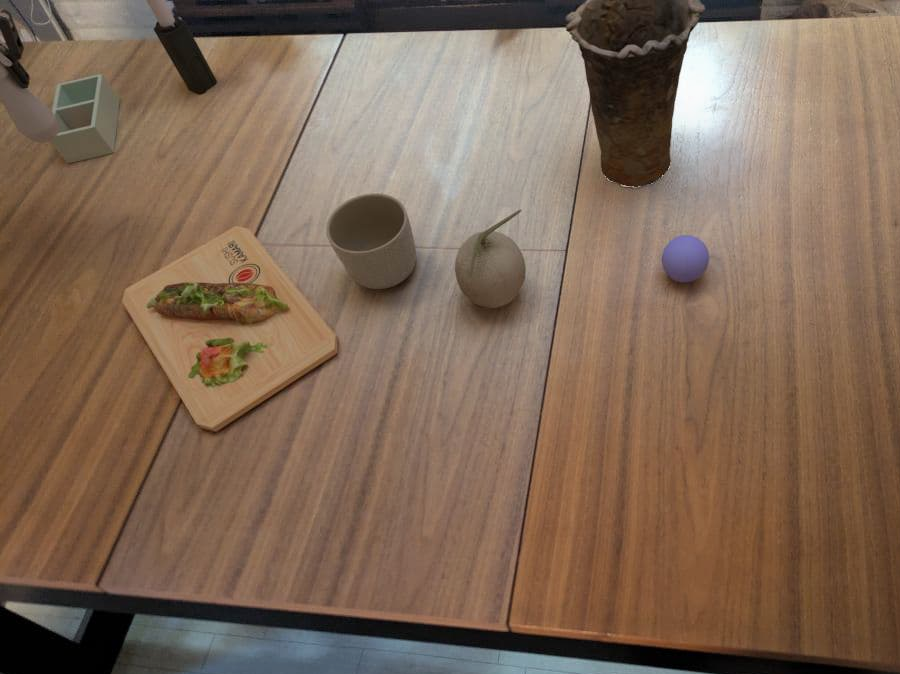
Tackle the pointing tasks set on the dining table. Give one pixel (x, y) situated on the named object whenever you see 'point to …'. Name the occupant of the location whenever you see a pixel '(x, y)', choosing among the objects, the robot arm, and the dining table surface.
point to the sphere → (685, 258)
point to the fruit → (490, 267)
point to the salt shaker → (27, 110)
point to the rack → (85, 118)
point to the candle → (182, 48)
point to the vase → (633, 79)
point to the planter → (373, 240)
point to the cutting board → (228, 327)
